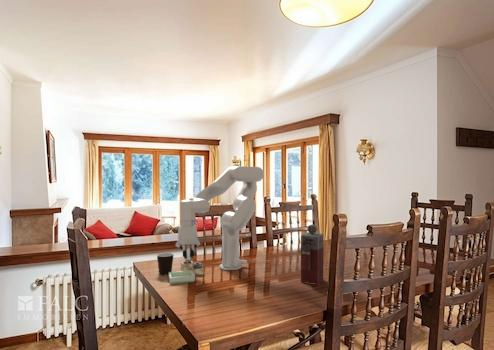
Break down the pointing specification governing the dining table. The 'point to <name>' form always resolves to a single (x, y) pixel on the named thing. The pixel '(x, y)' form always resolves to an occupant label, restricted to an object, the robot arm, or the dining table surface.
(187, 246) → the pin
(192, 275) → the tray
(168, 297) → the dining table surface
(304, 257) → the dark red bottle
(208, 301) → the dining table surface
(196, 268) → the pulley block
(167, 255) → the coffee mug
